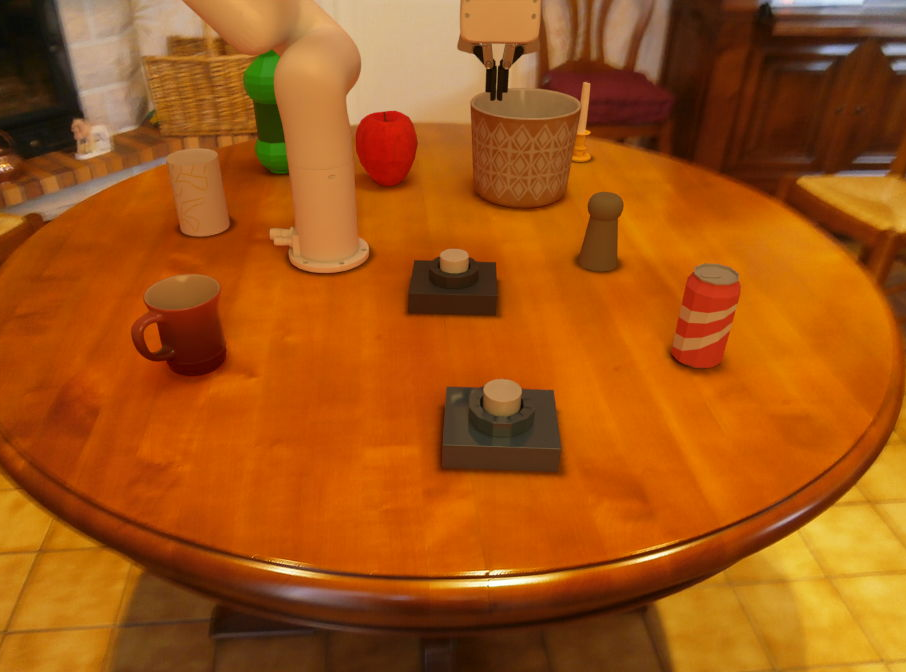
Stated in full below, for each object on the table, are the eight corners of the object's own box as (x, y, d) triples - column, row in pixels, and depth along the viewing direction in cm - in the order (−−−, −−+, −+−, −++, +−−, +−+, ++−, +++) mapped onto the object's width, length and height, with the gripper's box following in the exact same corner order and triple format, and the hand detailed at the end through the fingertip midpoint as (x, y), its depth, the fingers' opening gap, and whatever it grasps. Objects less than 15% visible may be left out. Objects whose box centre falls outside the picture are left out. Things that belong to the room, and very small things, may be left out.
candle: (576, 152, 156) (585, 75, 147) (595, 158, 153) (606, 80, 144) (560, 157, 154) (568, 79, 145) (579, 164, 150) (588, 84, 141)
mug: (200, 337, 97) (184, 267, 91) (249, 357, 93) (236, 285, 87) (125, 383, 88) (102, 309, 82) (175, 406, 85) (156, 331, 79)
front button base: (442, 468, 76) (442, 431, 73) (446, 408, 85) (446, 373, 82) (558, 472, 76) (563, 435, 73) (551, 412, 84) (555, 376, 81)
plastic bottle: (258, 161, 151) (239, 29, 137) (309, 159, 152) (296, 28, 138) (253, 179, 143) (233, 40, 129) (308, 176, 144) (294, 39, 130)
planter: (587, 187, 140) (599, 97, 131) (543, 222, 127) (552, 125, 117) (498, 167, 149) (503, 82, 139) (448, 198, 135) (449, 106, 126)
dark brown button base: (409, 313, 102) (408, 281, 99) (414, 279, 110) (414, 248, 107) (495, 316, 101) (497, 283, 98) (495, 281, 109) (496, 250, 107)
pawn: (617, 273, 112) (628, 204, 105) (576, 269, 113) (585, 201, 106) (617, 255, 116) (627, 189, 110) (578, 252, 117) (587, 185, 111)
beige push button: (482, 416, 76) (483, 400, 75) (482, 393, 79) (483, 378, 78) (521, 417, 76) (522, 402, 75) (519, 394, 79) (521, 379, 78)
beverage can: (664, 344, 96) (682, 261, 89) (714, 345, 95) (736, 261, 88) (675, 371, 91) (695, 285, 84) (727, 372, 90) (752, 286, 83)
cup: (170, 231, 123) (154, 161, 116) (200, 213, 130) (187, 145, 123) (210, 239, 121) (197, 168, 114) (239, 220, 127) (228, 151, 120)
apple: (384, 167, 149) (381, 99, 141) (431, 179, 143) (431, 109, 135) (345, 184, 141) (340, 113, 133) (393, 198, 135) (390, 125, 128)
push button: (439, 274, 101) (439, 261, 100) (440, 261, 105) (440, 248, 103) (468, 275, 101) (468, 261, 100) (468, 261, 105) (469, 248, 103)
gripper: (563, -63, 91) (549, 91, 102) (442, -63, 92) (441, 90, 102) (569, -56, 85) (554, 107, 96) (439, -57, 86) (439, 105, 96)
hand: (496, 97), depth 99 cm, fingers closed
